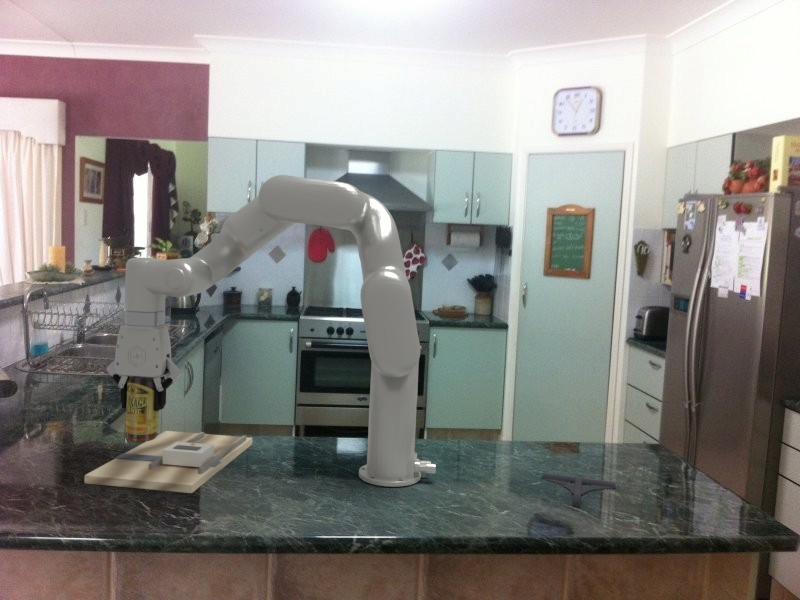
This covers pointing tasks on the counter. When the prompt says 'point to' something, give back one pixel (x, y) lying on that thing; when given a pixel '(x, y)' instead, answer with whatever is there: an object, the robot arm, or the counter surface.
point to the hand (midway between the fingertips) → (143, 407)
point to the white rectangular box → (188, 454)
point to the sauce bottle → (141, 410)
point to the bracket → (579, 485)
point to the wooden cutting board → (150, 473)
